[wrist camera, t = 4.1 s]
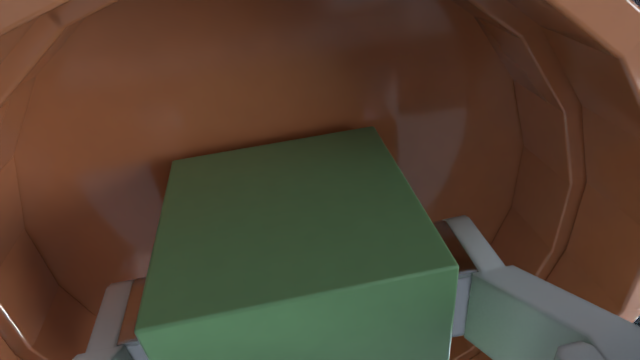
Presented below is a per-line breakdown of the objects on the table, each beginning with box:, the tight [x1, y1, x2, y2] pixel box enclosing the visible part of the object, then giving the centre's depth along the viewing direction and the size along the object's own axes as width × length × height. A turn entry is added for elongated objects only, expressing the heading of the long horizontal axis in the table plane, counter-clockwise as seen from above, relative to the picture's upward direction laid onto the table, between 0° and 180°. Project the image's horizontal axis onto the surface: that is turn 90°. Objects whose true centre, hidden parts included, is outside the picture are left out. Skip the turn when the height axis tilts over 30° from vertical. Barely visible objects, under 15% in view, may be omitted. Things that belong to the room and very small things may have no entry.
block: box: [134, 126, 459, 360], centre depth 9 cm, size 4×4×4 cm
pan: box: [0, 0, 640, 360], centre depth 10 cm, size 14×14×4 cm
